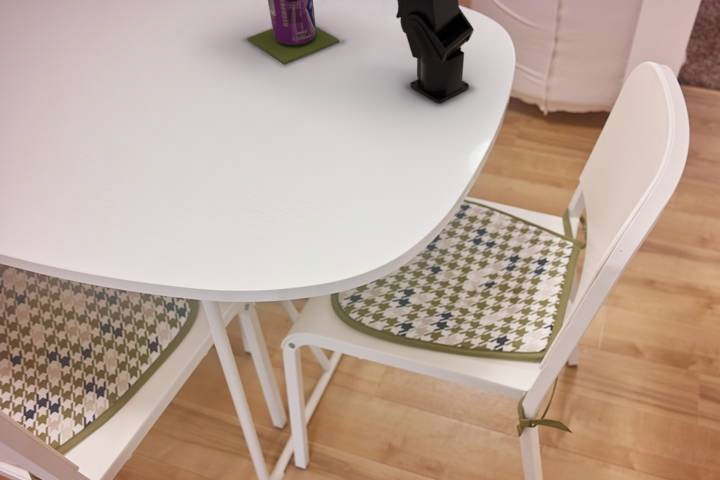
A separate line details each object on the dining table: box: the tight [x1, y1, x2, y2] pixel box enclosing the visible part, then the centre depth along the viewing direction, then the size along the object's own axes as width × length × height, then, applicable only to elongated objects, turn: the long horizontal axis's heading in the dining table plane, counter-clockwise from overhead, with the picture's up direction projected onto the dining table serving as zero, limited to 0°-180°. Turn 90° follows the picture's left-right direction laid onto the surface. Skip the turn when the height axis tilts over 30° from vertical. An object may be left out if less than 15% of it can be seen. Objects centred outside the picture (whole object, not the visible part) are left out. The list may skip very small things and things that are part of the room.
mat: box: [247, 26, 340, 65], centre depth 102 cm, size 11×11×1 cm
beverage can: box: [267, 0, 317, 45], centre depth 98 cm, size 7×7×12 cm
